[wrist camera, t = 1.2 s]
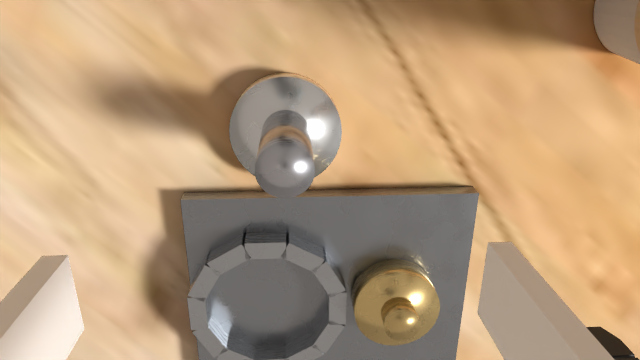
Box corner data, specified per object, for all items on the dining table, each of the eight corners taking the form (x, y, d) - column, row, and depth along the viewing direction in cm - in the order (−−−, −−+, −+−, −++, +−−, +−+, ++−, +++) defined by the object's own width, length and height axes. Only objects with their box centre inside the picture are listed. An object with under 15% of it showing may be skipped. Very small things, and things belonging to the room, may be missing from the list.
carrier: (184, 192, 33) (168, 225, 28) (472, 186, 34) (500, 217, 30) (204, 374, 39) (193, 425, 34) (448, 364, 40) (468, 411, 36)
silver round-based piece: (228, 72, 30) (208, 102, 23) (340, 72, 30) (356, 101, 23) (235, 177, 33) (219, 234, 25) (338, 175, 33) (352, 231, 26)
